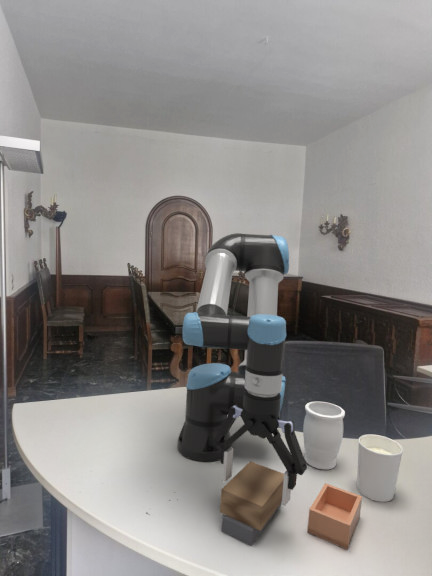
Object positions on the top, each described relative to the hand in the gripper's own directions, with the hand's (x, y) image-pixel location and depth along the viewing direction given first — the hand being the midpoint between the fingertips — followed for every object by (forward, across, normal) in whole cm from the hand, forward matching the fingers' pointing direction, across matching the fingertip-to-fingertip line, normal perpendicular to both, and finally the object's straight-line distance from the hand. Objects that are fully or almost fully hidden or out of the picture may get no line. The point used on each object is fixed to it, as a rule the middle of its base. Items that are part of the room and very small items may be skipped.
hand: (255, 490), depth 83 cm
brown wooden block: (+3, 0, 0) cm, 3 cm away
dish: (+6, +15, +8) cm, 18 cm away
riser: (+6, 0, 0) cm, 6 cm away
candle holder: (+6, +20, +26) cm, 34 cm away
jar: (+6, +5, +32) cm, 32 cm away
